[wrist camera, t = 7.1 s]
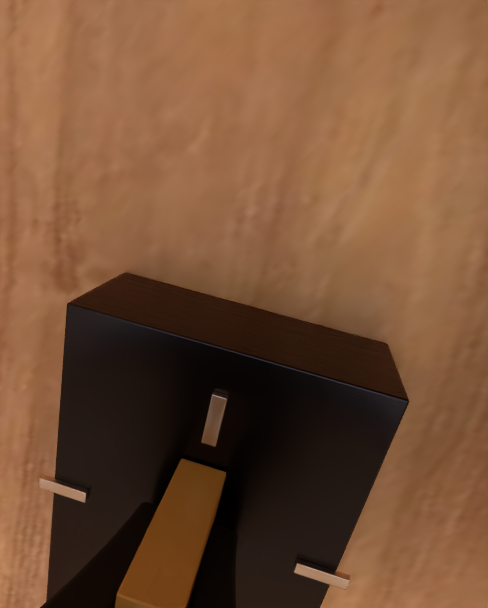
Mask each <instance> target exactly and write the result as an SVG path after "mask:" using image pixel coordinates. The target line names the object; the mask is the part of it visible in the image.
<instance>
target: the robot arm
mask: <svg viewBox="0 0 488 608" xmlns="http://www.w3.org/2000/svg"><path fill="white" fill-rule="evenodd" d="M157 508H158V505H155V504H152V503H149V502H143V503H141V504H140V505H139V507H138V508H137V509H136V510H135V512H134V513H133V514H132V515H131V517H130V518H129V519H128V520H127V521H126V522H125V524H124V525H123V526H122V527H121V528H120V529H119V530H118V532H117V533H116V534H115V535H114V536H113V537H112V538H111V539H110V540H109V541H108V542H107V544H106V545H105V546H104V547H103V548H102V549H101V550H100V551H99V552H98V553H97V554H96V555H95V556H94V557H93V558H92V559H91V560H90V561H89V562H88V563H87V564H86V565H85V566H84V567H83V568H82V569H81V570H80V571H79V572H78V573H77V574H76V575H75V576H74V577H73V578H72V579H71V580H70V581H69V582H67V583H66V584H65V585H64V586H63V587H62V588H61V589H60V590H59V591H58V592H57V593H56V594H54V595H53V596H52V597H51V598H50V599H49V600H48V601H47V602H46V603H45V604H44V605H42V606H41V607H40V608H115V602H116V595H117V592H118V590H119V588H120V586H121V584H122V581H123V579H124V577H125V575H126V573H127V571H128V569H129V567H130V565H131V563H132V561H133V558H134V556H135V554H136V552H137V550H138V548H139V546H140V544H141V542H142V540H143V538H144V535H145V533H146V531H147V529H148V527H149V525H150V523H151V521H152V519H153V517H154V514H155V512H156V510H157ZM237 541H238V534H237V533H236V531H234V530H231V529H228V528H225V527H222V526H218V525H215V524H213V525H212V528H211V531H210V534H209V537H208V541H207V544H206V547H205V550H204V553H203V557H202V560H201V564H200V568H199V572H198V576H197V580H196V584H195V587H194V591H193V595H192V599H191V603H190V607H189V608H236V551H237Z"/></svg>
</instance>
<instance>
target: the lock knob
mask: <svg viewBox="0 0 488 608" xmlns="http://www.w3.org/2000/svg"><path fill="white" fill-rule="evenodd" d="M225 478H226V472H224V471H221V470H218V469H214V468H211V467H208V466H205V465H202V464H199V463H195V462H192V461H189V460H186V459H181V460H180V462H179V464H178V466H177V468H176V471H175V473H174V475H173V477H172V479H171V481H170V483H169V485H168V487H167V489H166V491H165V494H164V496H163V498H162V500H161V502H160V504H159V506H158V508H157V510H156V512H155V514H154V517H153V519H152V521H151V523H150V525H149V527H148V529H147V531H146V533H145V535H144V538H143V540H142V542H141V544H140V546H139V548H138V550H137V552H136V554H135V556H134V558H133V561H132V563H131V565H130V567H129V569H128V571H127V573H126V575H125V577H124V579H123V581H122V584H121V586H120V588H119V590H118V592H117V595H116V602H115V608H189V607H190V603H191V599H192V595H193V591H194V587H195V584H196V580H197V576H198V572H199V568H200V564H201V560H202V557H203V553H204V550H205V547H206V544H207V541H208V537H209V534H210V531H211V528H212V525H213V523H214V519H215V516H216V512H217V508H218V504H219V500H220V497H221V493H222V489H223V485H224V481H225Z"/></svg>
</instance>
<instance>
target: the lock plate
mask: <svg viewBox="0 0 488 608" xmlns="http://www.w3.org/2000/svg"><path fill="white" fill-rule="evenodd" d="M408 403H409V399H408V396H407V394H406V391H405V389H404V386H403V383H402V381H401V378H400V375H399V373H398V370H397V368H396V365H395V362H394V360H393V357H392V354H391V352H390V349H389V346H388V345H387V344H384V343H381V342H377V341H373V340H370V339H366V338H362V337H359V336H355V335H351V334H348V333H344V332H340V331H337V330H333V329H330V328H326V327H322V326H319V325H315V324H311V323H308V322H304V321H300V320H297V319H293V318H289V317H286V316H282V315H278V314H275V313H271V312H267V311H264V310H260V309H257V308H253V307H249V306H246V305H242V304H238V303H235V302H231V301H227V300H224V299H220V298H216V297H213V296H209V295H205V294H202V293H198V292H194V291H191V290H187V289H184V288H180V287H176V286H173V285H169V284H165V283H162V282H158V281H154V280H151V279H147V278H143V277H140V276H136V275H132V274H129V273H123V274H121V275H119V276H117V277H115V278H113V279H112V280H110V281H108V282H106V283H104V284H102V285H100V286H99V287H97V288H95V289H93V290H91V291H89V292H87V293H86V294H84V295H82V296H80V297H78V298H76V299H74V300H72V301H71V302H69V303H68V304H67V313H66V327H65V341H64V356H63V370H62V384H61V399H60V413H59V428H58V442H57V456H56V471H55V478H53V477H50V476H47V475H44V474H42V476H41V477H40V478H39V488H42V489H45V490H48V491H51V492H54V499H53V514H52V528H51V543H50V557H49V571H48V586H47V600H46V602H47V601H48V600H49V599H50V598H51V597H52V596H53V595H54V594H56V593H57V592H58V591H59V590H60V589H61V588H62V587H63V586H64V585H65V584H66V583H67V582H69V581H70V580H71V579H72V578H73V577H74V576H75V575H76V574H77V573H78V572H79V571H80V570H81V569H82V568H83V567H84V566H85V565H86V564H87V563H88V562H89V561H90V560H91V559H92V558H93V557H94V556H95V555H96V554H97V553H98V552H99V551H100V550H101V549H102V548H103V547H104V546H105V545H106V544H107V542H108V541H109V540H110V539H111V538H112V537H113V536H114V535H115V534H116V533H117V532H118V530H119V529H120V528H121V527H122V526H123V525H124V524H125V522H126V521H127V520H128V519H129V518H130V517H131V515H132V514H133V513H134V512H135V510H136V509H137V508H138V507H139V505H140V504H141V503H143V502H149V503H152V504H155V505H158V506H159V504H160V502H161V500H162V498H163V496H164V494H165V491H166V489H167V487H168V485H169V483H170V481H171V479H172V477H173V475H174V473H175V471H176V468H177V466H178V464H179V462H180V460H181V459H186V460H189V461H192V462H195V463H199V464H202V465H205V466H208V467H211V468H214V469H218V470H221V471H224V472H226V478H225V481H224V485H223V489H222V493H221V497H220V500H219V504H218V508H217V512H216V516H215V519H214V523H213V524H215V525H218V526H222V527H225V528H228V529H231V530H234V531H236V533H237V534H238V541H237V551H236V608H320V606H321V604H322V602H323V599H324V597H325V595H326V592H327V590H328V588H329V586H330V585H332V586H335V587H338V588H341V589H344V590H346V589H347V587H348V584H349V582H350V576H349V575H347V574H344V573H341V572H338V571H336V569H337V567H338V565H339V562H340V560H341V558H342V555H343V553H344V551H345V549H346V546H347V544H348V542H349V539H350V537H351V535H352V532H353V530H354V528H355V525H356V523H357V521H358V518H359V516H360V514H361V512H362V509H363V507H364V505H365V502H366V500H367V498H368V495H369V493H370V491H371V488H372V486H373V484H374V482H375V479H376V477H377V475H378V472H379V470H380V468H381V465H382V463H383V461H384V458H385V456H386V454H387V451H388V449H389V447H390V445H391V442H392V440H393V438H394V435H395V433H396V431H397V428H398V426H399V424H400V421H401V419H402V417H403V415H404V412H405V410H406V408H407V405H408Z"/></svg>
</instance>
